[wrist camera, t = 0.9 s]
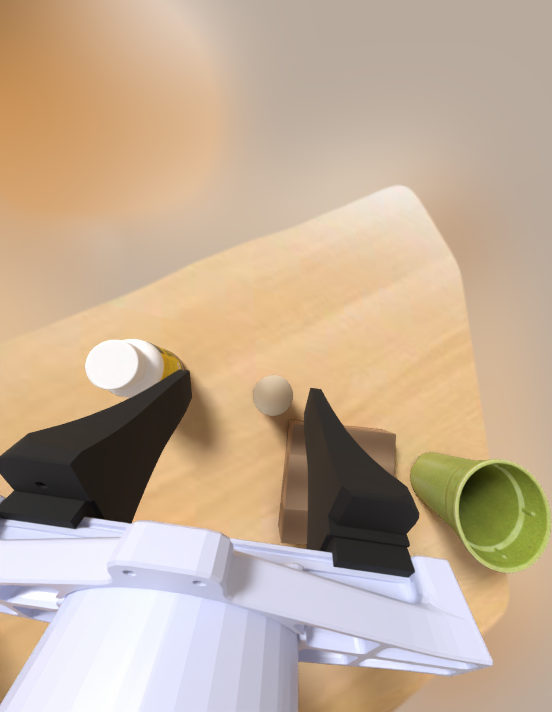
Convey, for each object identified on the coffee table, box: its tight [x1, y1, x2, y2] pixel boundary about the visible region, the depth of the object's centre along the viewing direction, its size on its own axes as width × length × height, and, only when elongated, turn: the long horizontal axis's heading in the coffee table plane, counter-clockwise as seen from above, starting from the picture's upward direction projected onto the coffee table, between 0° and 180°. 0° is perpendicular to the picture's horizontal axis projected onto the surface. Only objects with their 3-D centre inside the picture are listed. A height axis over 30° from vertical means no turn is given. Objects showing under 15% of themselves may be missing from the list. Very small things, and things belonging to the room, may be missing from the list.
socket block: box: [278, 420, 396, 544], centre depth 26 cm, size 12×12×3 cm
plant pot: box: [410, 453, 551, 573], centre depth 25 cm, size 9×9×9 cm
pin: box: [253, 375, 293, 416], centre depth 25 cm, size 4×4×8 cm
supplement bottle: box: [85, 339, 184, 398], centre depth 23 cm, size 5×5×10 cm
